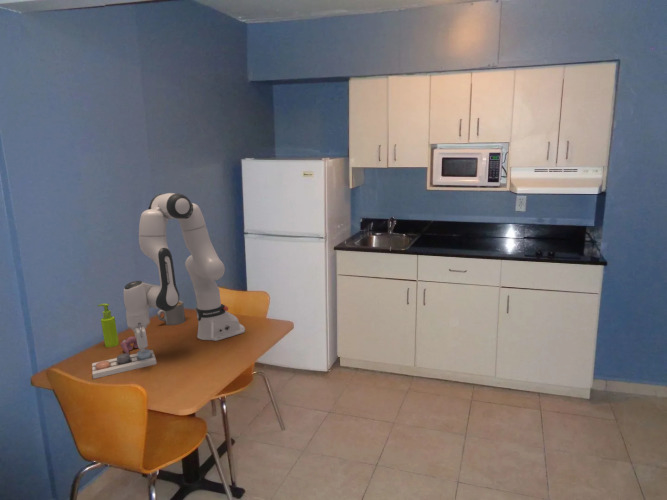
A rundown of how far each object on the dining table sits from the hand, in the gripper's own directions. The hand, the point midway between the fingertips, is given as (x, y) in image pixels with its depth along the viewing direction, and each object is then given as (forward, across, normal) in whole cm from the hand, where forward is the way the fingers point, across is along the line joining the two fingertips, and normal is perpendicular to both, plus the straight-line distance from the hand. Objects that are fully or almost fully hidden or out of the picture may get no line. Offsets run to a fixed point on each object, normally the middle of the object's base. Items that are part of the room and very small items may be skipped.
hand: (142, 351), depth 204 cm
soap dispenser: (+5, +30, +12) cm, 33 cm away
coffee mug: (+5, +45, -18) cm, 49 cm away
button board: (+5, 0, +8) cm, 9 cm away
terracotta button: (+5, 0, +16) cm, 16 cm away
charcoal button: (+3, 0, +8) cm, 8 cm away
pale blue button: (+3, 0, 0) cm, 3 cm away
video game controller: (+5, +17, +3) cm, 18 cm away
